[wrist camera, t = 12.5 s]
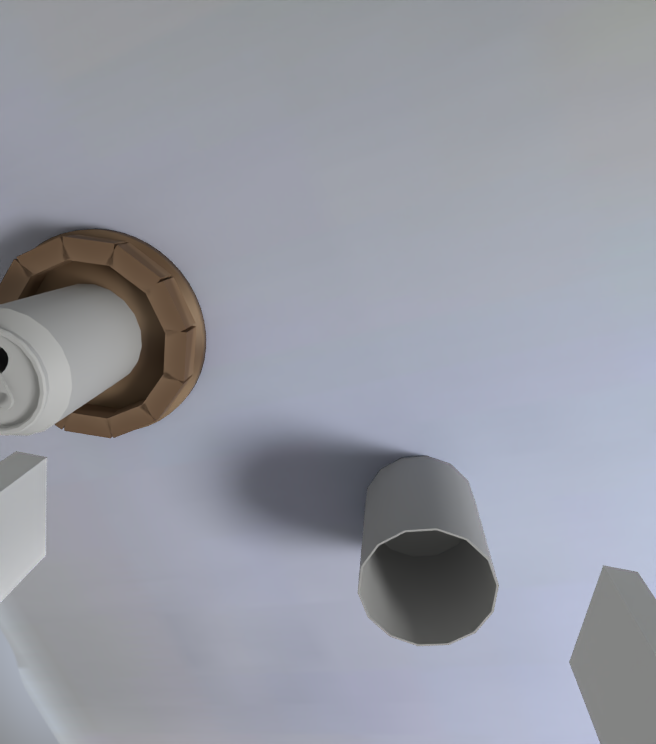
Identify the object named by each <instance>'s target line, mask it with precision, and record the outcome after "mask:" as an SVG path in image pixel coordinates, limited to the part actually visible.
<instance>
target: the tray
mask: <svg viewBox="0 0 656 744" xmlns="http://www.w3.org/2000/svg"><path fill="white" fill-rule="evenodd" d="M75 284H95V285H97V286H100V287H103V288H105V289H108V290H110V291H112V292H113V293H114V294H116V295H117V296H118V297H120V298H121V299H122V300H124V301H125V303H126V304H127V305H128V307H129V308H130V309H131V311H132V312H133V313H134V314H135V317H136V320H137V322H138V325H139V327H140V330H141V342H142V348H141V352H140V355H139V359H138V362H137V364H136V365H135V366H134V368H133V369H132V371H131V372H130V374H128V375H127V376H126V377H124V378H123V379H121V380H120V381H118V382H117V383H115V384H114V385H112V386H111V387H109V388H108V389H107V390H105V391H104V392H102V393H101V394H99V395H98V396H96V397H95V398H93V399H92V400H90V401H89V402H87V403H86V404H84V405H83V406H81V407H80V408H78V409H77V410H75V411H74V412H72V413H71V414H69V415H68V416H66V417H65V418H63V419H62V420H60V421H59V422H57V423H56V424H55V425H56V426H57V427H59V428H60V429H63V428H64V431H70V432H76V433H82V434H88V435H94V436H100V437H107V438H111V437H112V436H113V438H115V437H117V436H120V435H122V434H125V433H128V432H130V431H133V430H136V429H139V428H143V427H146V426H149V425H151V424H153V423H155V422H158V421H160V420H161V419H163V418H164V417H166V416H167V415H169V414H170V413H171V412H172V411H173V410H174V409H176V408H177V407H178V406H179V405H180V404H181V403H182V402H183V401H184V400H185V398H186V397H187V396H188V395H189V394H190V392H191V391H192V389H193V387H194V386H195V384H196V382H197V380H198V378H199V375H200V373H201V370H202V367H203V363H204V358H205V351H206V331H205V324H204V319H203V315H202V311H201V308H200V305H199V303H198V300H197V298H196V295H195V293H194V292H193V290H192V288H191V286H190V284H189V283H188V281H187V280H186V278H185V277H184V276H183V274H182V273H181V271H180V270H179V269H178V268H177V267H176V266H175V265H174V264H173V263H172V262H171V261H170V260H169V259H168V258H167V257H166V256H165V255H163V254H162V253H161V252H160V251H158V250H157V249H155V248H154V247H152V246H151V245H149V244H148V243H146V242H144V241H142V240H140V239H138V238H136V237H133V236H130V235H127V234H125V233H121V232H116V231H112V230H102V229H89V230H77V231H72V232H67V233H63V234H60V235H57V236H55V237H52V238H50V239H48V240H47V241H45V242H43V243H41V244H40V245H38V246H37V247H36V248H35V249H32V250H30V251H28V252H26V253H24V254H22V255H20V256H18V257H17V259H14V260H13V262H12V264H11V266H10V267H9V269H8V271H7V273H6V275H5V276H4V278H3V280H2V282H1V284H0V304H4V303H8V302H12V301H15V300H19V299H23V298H27V297H30V296H34V295H38V294H41V293H45V292H49V291H53V290H56V289H60V288H64V287H68V286H71V285H75Z"/></svg>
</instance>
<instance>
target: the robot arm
mask: <svg viewBox="0 0 656 744" xmlns="http://www.w3.org/2000/svg"><path fill="white" fill-rule="evenodd" d="M46 494H47V457H43V456H38V455H33V454H27V453H22V452H17V451H16V452H14V453H13V454H11V455H10V456H8V457H7V458H5V459H4V460H2V461H1V462H0V602H1V601H2V600H3V599H4V598H5V597H6V596H7V595H8V594H9V593H10V592H11V591H12V590H13V589H14V588H15V587H16V586H17V585H18V584H19V583H20V582H21V581H22V580H23V579H24V578H25V577H26V575H27V574H28V573H29V572H30V571H31V570H32V569H33V568H34V567H35V566H36V565H37V564H38V563H39V562H40V561H41V560H42V559H43V558H44V557H45V556H46ZM569 663H570V665H571V668H572V671H573V673H574V676H575V678H576V681H577V684H578V686H579V689H580V691H581V694H582V697H583V699H584V702H585V704H586V707H587V710H588V712H589V715H590V717H591V720H592V723H593V725H594V728H595V730H596V733H597V736H598V738H599V741H600V743H601V744H656V599H655V598H654V596H653V594H652V593H651V591H650V590H649V588H648V587H647V585H646V584H645V582H644V581H643V579H642V578H641V576H640V575H639V573H638V572H635V571H629V570H624V569H619V568H614V567H609V566H604V565H603V568H602V571H601V574H600V576H599V579H598V582H597V585H596V588H595V591H594V593H593V596H592V599H591V602H590V605H589V608H588V610H587V613H586V616H585V619H584V622H583V625H582V627H581V630H580V633H579V636H578V639H577V642H576V644H575V647H574V650H573V653H572V656H571V659H570V661H569Z"/></svg>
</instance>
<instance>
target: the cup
mask: <svg viewBox="0 0 656 744" xmlns="http://www.w3.org/2000/svg"><path fill="white" fill-rule="evenodd" d="M498 587H499V585H498V581H497V577H496V574H495V570H494V567H493V563H492V560H491V556H490V552H489V549H488V545H487V542H486V538H485V535H484V531H483V527H482V524H481V520H480V517H479V513H478V510H477V506H476V502H475V499H474V496H473V494H472V491H471V488H470V485H469V482H468V480H467V479H466V478H465V477H464V476H463V475H462V474H461V473H460V472H459V471H458V470H457V469H455V468H454V467H453V466H452V465H451V464H449V463H447V462H444V461H441V460H438V459H435V458H432V457H429V456H418V457H406V458H400V459H399V460H397V461H395V462H393V463H391V464H389V465H388V466H386V467H384V468H382V469H380V471H379V472H378V474H377V475H376V476H375V478H374V479H373V481H372V482H371V484H370V485H369V486H368V488H367V495H366V504H365V513H364V525H363V537H362V549H361V561H360V573H359V584H358V594H359V597H360V599H361V602H362V604H363V606H364V609H365V611H366V614H367V616H368V618H369V619H370V620H372V621H373V622H374V623H375V624H376V625H377V626H378V627H379V628H381V629H382V630H383V631H384V632H385V633H386V634H387V635H389V636H390V637H393V638H396V639H399V640H402V641H405V642H408V643H410V644H413V645H416V646H433V645H449V644H452V643H454V642H456V641H458V640H461V639H463V638H465V637H467V636H470V635H472V634H474V633H476V632H477V630H478V629H479V628H480V627H481V626H482V625H483V623H484V622H485V621H486V620H487V619H488V618H489V616H490V615H491V614H492V613H493V612H494V607H495V602H496V597H497V592H498Z"/></svg>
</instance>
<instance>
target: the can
mask: <svg viewBox="0 0 656 744" xmlns="http://www.w3.org/2000/svg"><path fill="white" fill-rule="evenodd" d="M141 348H142V342H141V330H140V327H139V325H138V322H137V320H136V317H135V314H134V313H133V312H132V311H131V309H130V308H129V307H128V305H127V304H126V303H125V301H124V300H122V299H121V298H120V297H118V296H117V295H116V294H114V293H113V292H112V291H110V290H108V289H105V288H103V287H100V286H97V285H95V284H75V285H71V286H68V287H64V288H60V289H56V290H53V291H49V292H45V293H41V294H38V295H34V296H30V297H27V298H23V299H19V300H15V301H12V302H8V303H4V304H0V435H5V436H8V435H19V436H28V435H32V434H36V433H39V432H43V431H45V430H47V429H48V428H50V427H51V426H53V425H54V424H56V423H57V422H59V421H60V420H62V419H63V418H65V417H66V416H68V415H69V414H71V413H72V412H74V411H75V410H77V409H78V408H80V407H81V406H83V405H84V404H86V403H87V402H89V401H90V400H92V399H93V398H95V397H96V396H98V395H99V394H101V393H102V392H104V391H105V390H107V389H108V388H109V387H111V386H112V385H114V384H115V383H117V382H118V381H120V380H121V379H123V378H124V377H126V376H127V375H128V374H130V372H131V371H132V369H133V368H134V366H135V365H136V364H137V362H138V359H139V355H140V352H141Z"/></svg>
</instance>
